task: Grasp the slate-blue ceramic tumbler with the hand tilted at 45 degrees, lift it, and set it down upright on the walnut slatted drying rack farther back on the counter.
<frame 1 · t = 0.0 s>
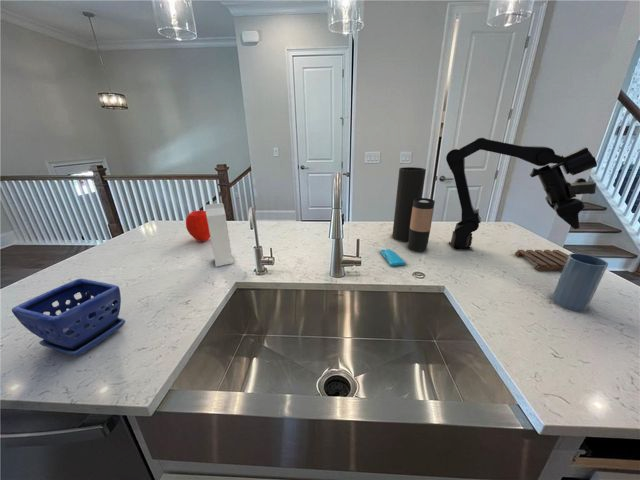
hand: (573, 224, 86), 15 cm above the worktop, tool tilted 35°, fingers open, 9 cm apart
flower pot: (87, 338, 61), on the worktop
sponge: (392, 258, 97), on the worktop
milk: (224, 262, 96), on the worktop
vase: (403, 237, 116), on the worktop
apple: (203, 240, 116), on the worktop
drying rack: (548, 262, 93), on the worktop
travel mug: (416, 248, 105), on the worktop
tumbler: (568, 303, 71), on the worktop
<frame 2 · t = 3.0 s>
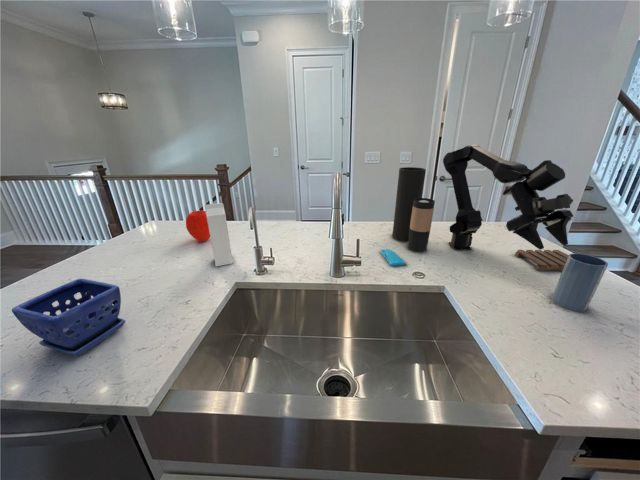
hand: (554, 246, 73), 14 cm above the worktop, tool tilted 45°, fingers open, 9 cm apart
nothing on the worktop moved.
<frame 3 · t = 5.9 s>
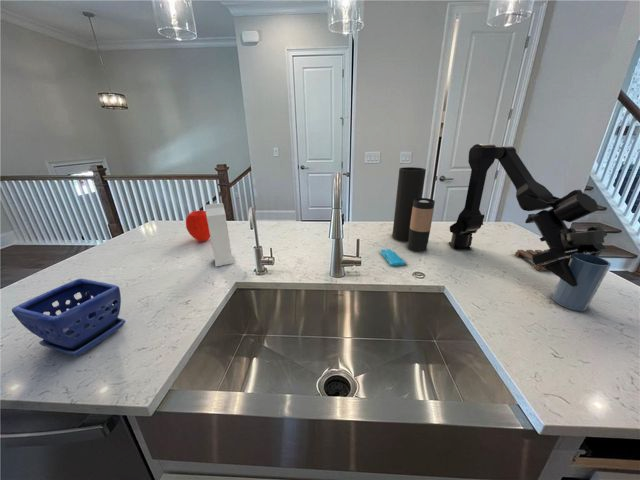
hand: (586, 283, 67), 7 cm above the worktop, tool tilted 45°, fingers closed on tumbler, 8 cm apart
tumbler: (568, 302, 71), on the worktop, touching gripper
everything else where it was.
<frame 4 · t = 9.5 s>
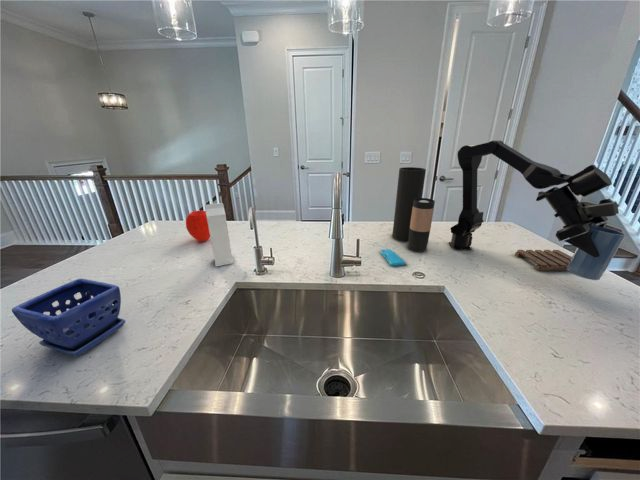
hand: (602, 253, 71), 13 cm above the worktop, tool tilted 45°, fingers closed on tumbler, 7 cm apart
tumbler: (582, 273, 75), point 5 cm above the worktop, tilted 5°, touching gripper
everything else where it was.
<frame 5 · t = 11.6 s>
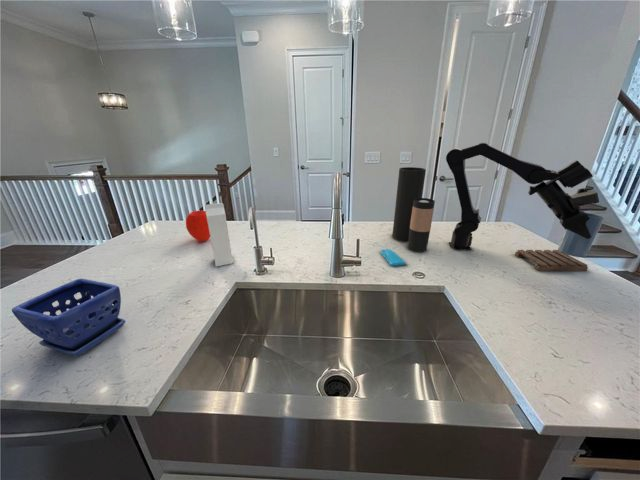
hand: (586, 234, 84), 12 cm above the worktop, tool tilted 45°, fingers closed on tumbler, 7 cm apart
tumbler: (571, 253, 88), point 5 cm above the worktop, tilted 5°, touching gripper
everything else where it was.
when the fingers open (10 cm above the worktop, at t = 13.3 s): tumbler stays where it is, resting on drying rack.
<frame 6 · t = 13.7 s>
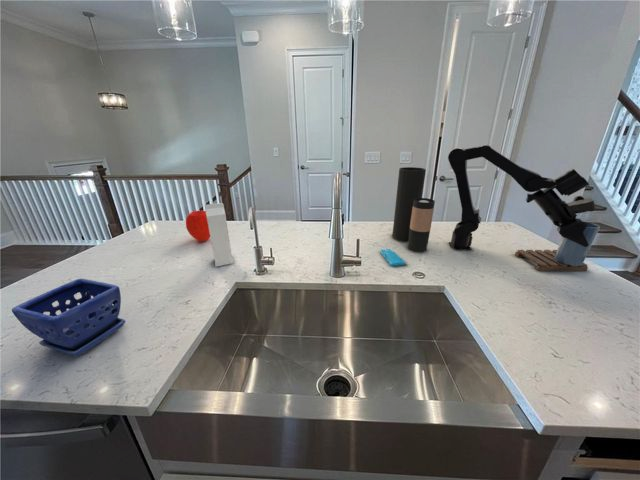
hand: (583, 241, 85), 10 cm above the worktop, tool tilted 45°, fingers open, 9 cm apart
tumbler: (568, 261, 89), point 2 cm above the worktop, touching drying rack, gripper
everything else where it was.
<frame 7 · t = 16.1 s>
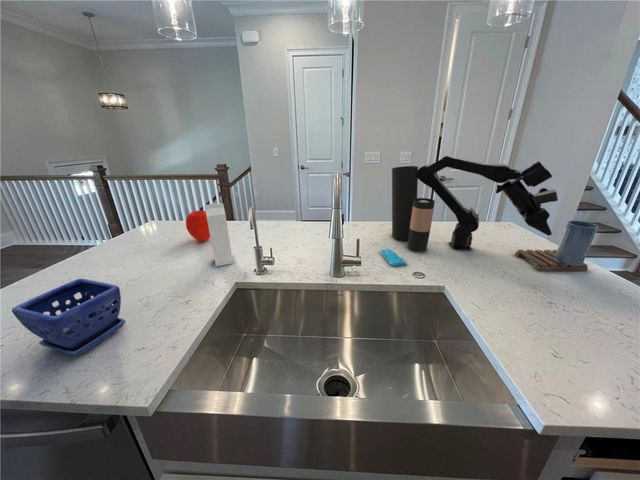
hand: (546, 231, 90), 12 cm above the worktop, tool tilted 45°, fingers open, 9 cm apart
vase: (404, 236, 116), on the worktop, touching arm
tumbler: (567, 261, 89), point 2 cm above the worktop, touching drying rack
everything else where it was.
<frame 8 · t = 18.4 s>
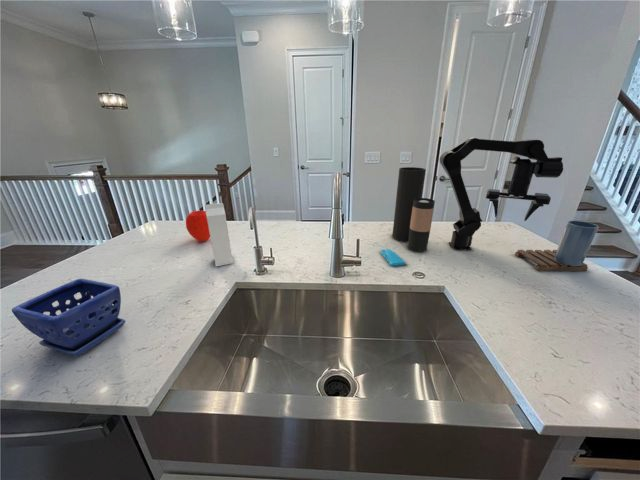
hand: (510, 218, 98), 13 cm above the worktop, tool pointing down, fingers open, 9 cm apart
vase: (403, 237, 116), on the worktop
everything else where it was.
at the end: tumbler inside the target area on the drying rack (0.8 cm from its centre), point 2.3 cm above the drying rack's base; tumbler tilted 0°; the gripper is holding nothing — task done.
